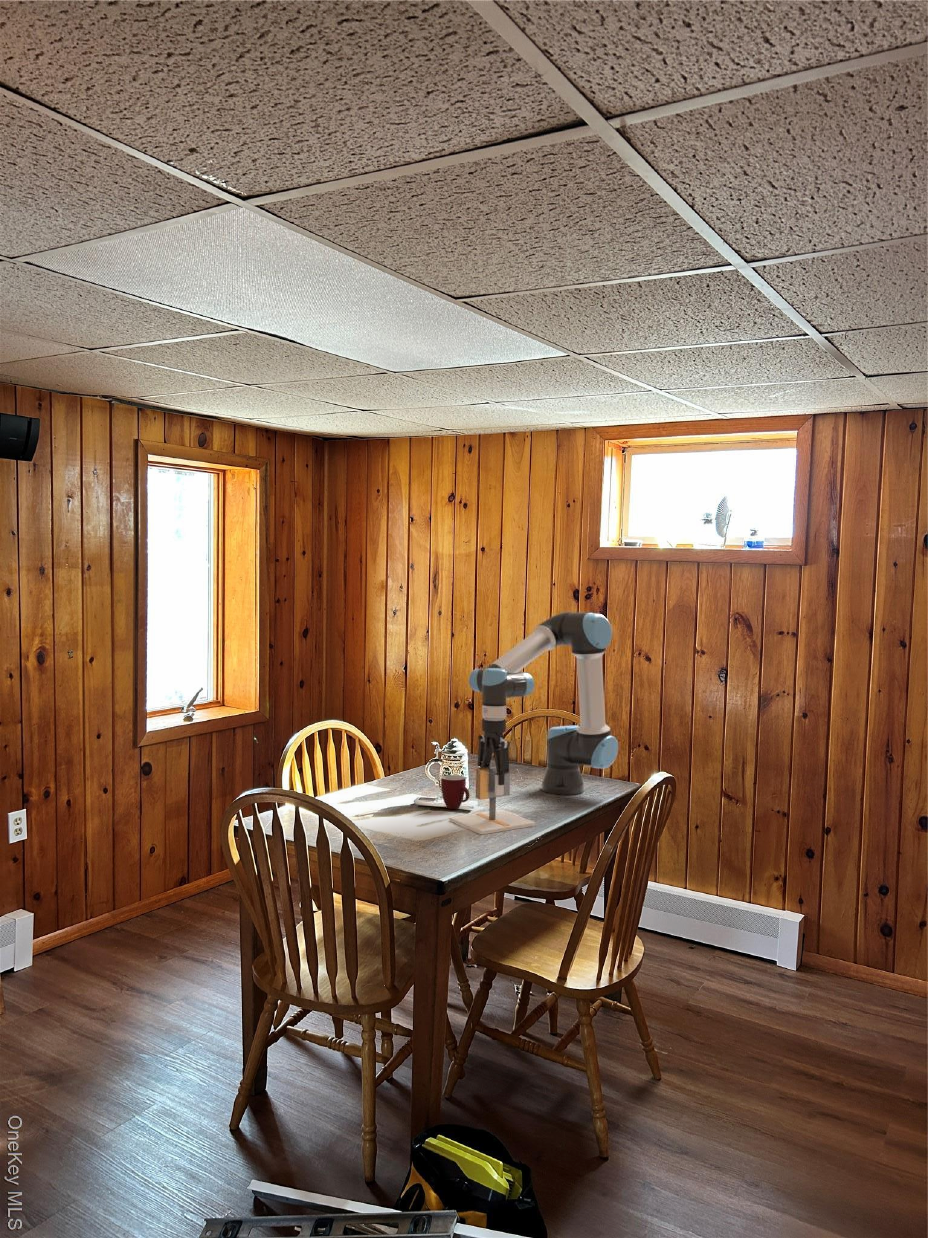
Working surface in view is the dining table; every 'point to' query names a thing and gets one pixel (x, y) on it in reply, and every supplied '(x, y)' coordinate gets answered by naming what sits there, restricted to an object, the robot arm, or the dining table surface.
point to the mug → (454, 790)
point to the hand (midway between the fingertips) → (492, 792)
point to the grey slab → (489, 783)
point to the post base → (492, 820)
